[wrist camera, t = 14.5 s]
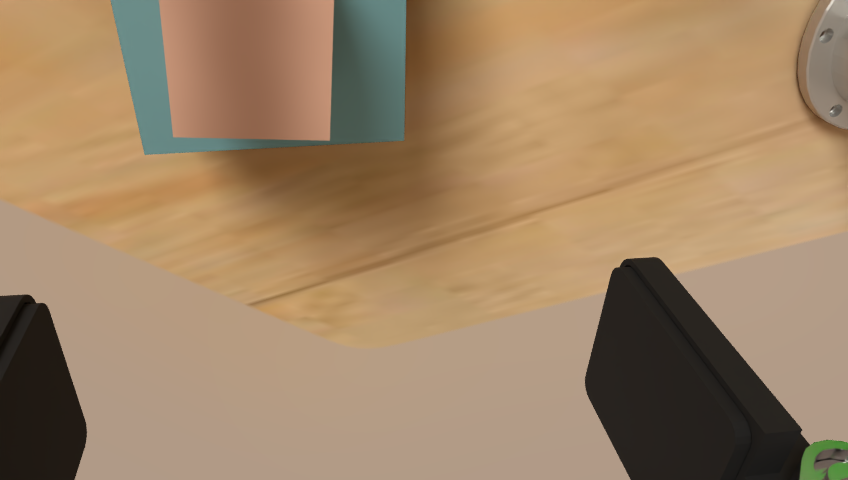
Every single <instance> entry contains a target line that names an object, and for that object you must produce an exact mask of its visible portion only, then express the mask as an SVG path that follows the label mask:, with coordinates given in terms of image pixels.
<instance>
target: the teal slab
mask: <svg viewBox="0 0 848 480" xmlns="http://www.w3.org/2000/svg"><path fill="white" fill-rule="evenodd" d="M111 4H112V9H113V13H114V18H115V23H116V27H117V32H118V36H119V41H120V45H121V50H122V54H123V59H124V63H125V68H126V72H127V77H128V81H129V86H130V91H131V95H132V100H133V104H134V109H135V113H136V118H137V122H138V127H139V131H140V136H141V140H142V145H143V149H144V154H145V155H149V154H167V153H186V152H204V151H223V150H241V149H260V148H278V147H297V146H315V145H334V144H352V143H371V142H389V141H404V120H405V52H406V0H334V17H333V51H332V85H331V118H330V141H324V140H278V139H231V138H184V137H173V131H172V121H171V112H170V102H169V92H168V83H167V73H166V64H165V54H164V44H163V35H162V25H161V16H160V6H159V0H111Z"/></svg>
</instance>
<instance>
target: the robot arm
mask: <svg viewBox="0 0 848 480" xmlns="http://www.w3.org/2000/svg"><path fill="white" fill-rule="evenodd" d="M798 80H799V87H800V91H801V93H802V96H803V98H804V100H805V103H806V104H807V105H808V107H809V108H810V109H811V110H812V111H813V113H814V114H816V115H817V116H819V117H820V118H822V119H823V120H825V121H826V122H828V123H830V124H832V125H834V126H836V127H838V128H841V129H846V130H848V0H820V1H819V3H818V5H817V6H816V8H815V10H814V12H813V14H812V15H811V17H810V20H809V23H808V25H807V28H806V30H805V33H804V35H803V38H802V43H801V47H800V52H799V56H798ZM585 386H586V391H587V395H588V397H589V399H590V401H591V403H592V405H593V407H594V409H595V411H596V413H597V415H598V417H599V419H600V421H601V423H602V425H603V427H604V429H605V430H606V432H607V434H608V436H609V438H610V440H611V442H612V444H613V446H614V448H615V450H616V452H617V454H618V456H619V458H620V460H621V462H622V463H623V465H624V467H625V469H626V471H627V473H628V475H629V477H630V479H631V480H848V443H847V442H843V441H832V440H824V441H820V442H814V443H813V444H812V445H810V444H809V443H808V442H807V441H806V440H805V438H804V437H803V436H802V435H801V431H802V429H801V428H800V426H799V425H798V424H797V423H796V421H795V420H794V419H793V418H792V417H791V416H790V414H789V413H788V412H787V411H786V409H785V408H784V407H783V406H782V405H781V404H780V402H779V401H778V400H777V399H776V397H775V396H774V395H773V394H772V393H771V391H769V389H768V388H767V387H766V386H765V384H764V383H763V382H762V381H761V379H760V378H759V377H758V376H757V375H756V373H755V372H754V371H753V370H752V369H751V367H750V366H749V365H748V364H747V363H746V361H745V360H744V359H743V358H742V357H741V355H740V354H739V353H738V352H737V351H736V349H735V348H734V347H733V346H732V345H731V343H730V342H729V341H728V340H727V339H726V338H725V336H724V335H723V334H722V333H721V331H720V330H719V329H718V328H717V327H716V325H715V324H714V323H713V322H712V320H711V319H710V318H709V317H708V316H707V314H706V313H705V312H704V311H703V310H702V308H701V307H700V306H699V305H698V304H697V302H696V301H695V300H694V299H693V298H692V296H691V295H690V294H689V293H688V292H687V290H686V289H685V288H684V287H683V286H682V284H681V283H680V282H679V281H678V280H677V278H676V277H675V276H674V275H673V274H672V272H671V271H670V270H669V269H668V268H667V266H666V265H665V264H664V263H663V262H662V261H661V260H660V259H659V258H656V257H651V258H634V259H626V260H624V261H623V262H622V263H621V265H620V267H618V268H615V269H614V270H613V271H612V274H611V277H610V281H609V285H608V289H607V293H606V297H605V301H604V305H603V309H602V313H601V317H600V321H599V325H598V329H597V333H596V337H595V341H594V344H593V349H592V352H591V357H590V360H589V364H588V368H587V372H586V377H585ZM86 437H87V429H86V422H85V419H84V416H83V413H82V409H81V406H80V404H79V401H78V397H77V394H76V391H75V388H74V385H73V382H72V379H71V376H70V373H69V370H68V367H67V363H66V360H65V357H64V354H63V351H62V348H61V345H60V342H59V339H58V336H57V333H56V330H55V327H54V324H53V321H52V318H51V314H50V311H49V309H48V307H47V306H46V304H44V303H36V302H35V300H34V299H33V298H32V296H30V295H11V296H0V480H74V479H75V476H76V473H77V470H78V467H79V464H80V460H81V457H82V454H83V451H84V448H85V444H86Z"/></svg>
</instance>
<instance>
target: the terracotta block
mask: <svg viewBox="0 0 848 480" xmlns="http://www.w3.org/2000/svg"><path fill="white" fill-rule="evenodd" d="M159 6H160V16H161V25H162V35H163V44H164V54H165V64H166V73H167V83H168V92H169V102H170V112H171V121H172V131H173V137H184V138H231V139H278V140H324V141H330V118H331V85H332V51H333V17H334V0H159Z"/></svg>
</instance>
